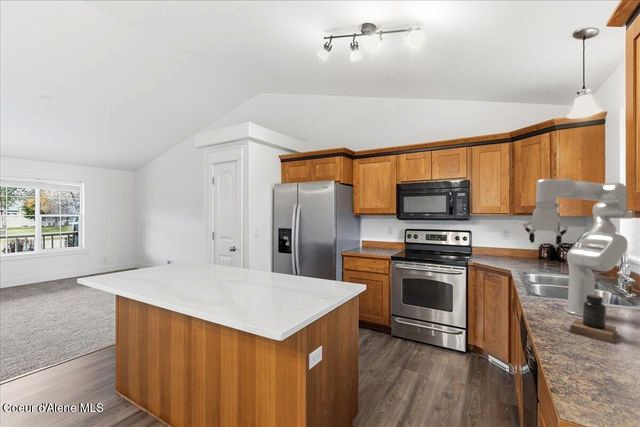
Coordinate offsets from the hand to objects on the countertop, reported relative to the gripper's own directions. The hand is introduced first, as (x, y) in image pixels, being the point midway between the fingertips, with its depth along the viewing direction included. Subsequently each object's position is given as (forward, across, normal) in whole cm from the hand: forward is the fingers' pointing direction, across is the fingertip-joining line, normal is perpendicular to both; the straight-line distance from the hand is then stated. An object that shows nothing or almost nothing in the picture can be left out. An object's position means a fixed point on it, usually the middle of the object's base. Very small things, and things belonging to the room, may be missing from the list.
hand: (544, 243), depth 138 cm
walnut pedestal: (+34, -18, +5) cm, 39 cm away
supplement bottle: (+32, -18, +5) cm, 37 cm away
